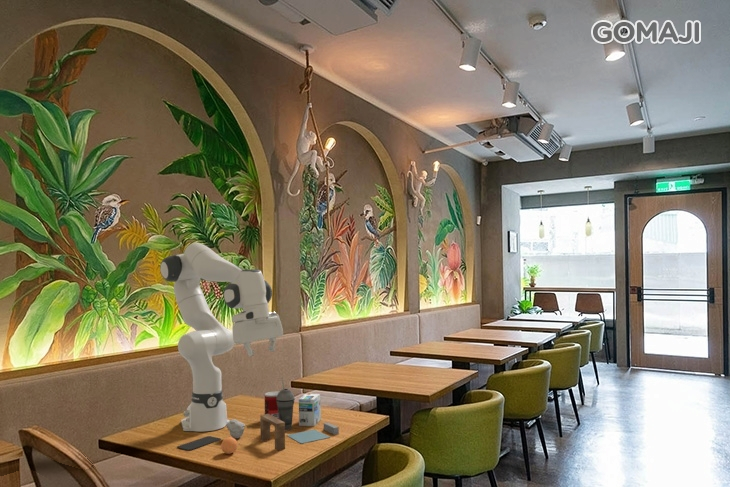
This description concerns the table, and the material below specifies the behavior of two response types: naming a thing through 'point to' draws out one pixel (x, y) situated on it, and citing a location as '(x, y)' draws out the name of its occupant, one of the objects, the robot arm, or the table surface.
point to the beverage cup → (285, 406)
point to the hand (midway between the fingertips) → (261, 353)
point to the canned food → (271, 404)
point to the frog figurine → (235, 428)
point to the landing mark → (308, 436)
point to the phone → (198, 443)
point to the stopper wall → (331, 428)
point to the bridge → (279, 430)
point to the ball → (229, 445)
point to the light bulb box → (309, 409)
